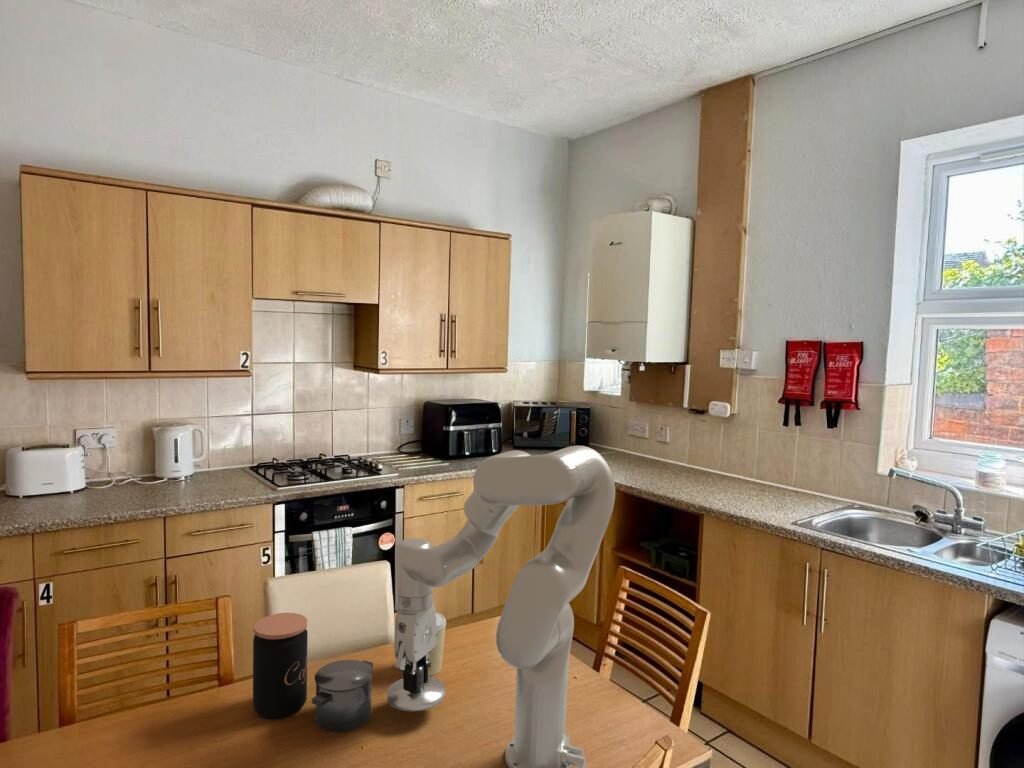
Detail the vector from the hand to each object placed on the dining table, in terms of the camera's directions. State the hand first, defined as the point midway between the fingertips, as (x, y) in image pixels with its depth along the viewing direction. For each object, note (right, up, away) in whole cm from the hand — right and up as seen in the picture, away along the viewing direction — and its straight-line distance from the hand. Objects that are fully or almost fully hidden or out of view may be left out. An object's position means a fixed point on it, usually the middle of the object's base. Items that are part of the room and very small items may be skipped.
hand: (415, 685), depth 134 cm
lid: (0, -2, 0) cm, 2 cm away
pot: (-15, -5, -2) cm, 16 cm away
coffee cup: (-1, -5, +18) cm, 19 cm away
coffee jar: (-29, -5, +1) cm, 29 cm away
